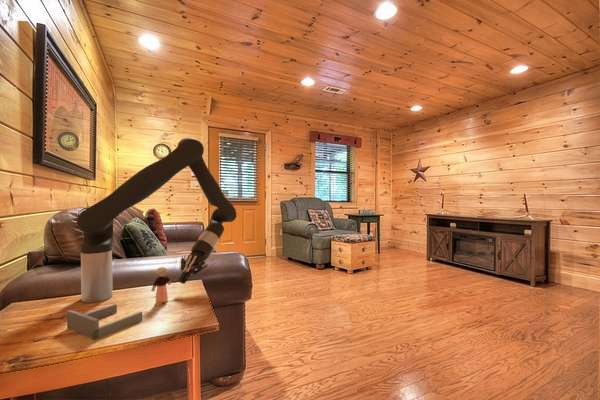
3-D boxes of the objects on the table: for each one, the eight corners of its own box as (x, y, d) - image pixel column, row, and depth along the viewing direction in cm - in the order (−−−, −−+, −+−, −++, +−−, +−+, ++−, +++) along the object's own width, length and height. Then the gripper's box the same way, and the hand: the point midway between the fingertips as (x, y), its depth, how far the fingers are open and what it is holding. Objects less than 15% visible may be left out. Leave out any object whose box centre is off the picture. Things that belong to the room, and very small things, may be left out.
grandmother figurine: (159, 307, 95) (159, 269, 95) (149, 306, 96) (149, 269, 96) (174, 299, 103) (173, 264, 102) (164, 298, 103) (164, 263, 103)
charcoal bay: (67, 328, 80) (66, 310, 80) (115, 311, 92) (114, 296, 92) (94, 339, 74) (94, 320, 74) (142, 320, 85) (142, 303, 85)
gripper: (188, 237, 118) (162, 274, 107) (212, 240, 111) (187, 279, 101) (198, 248, 122) (175, 284, 112) (222, 251, 116) (199, 290, 106)
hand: (181, 282), depth 106 cm, fingers closed
